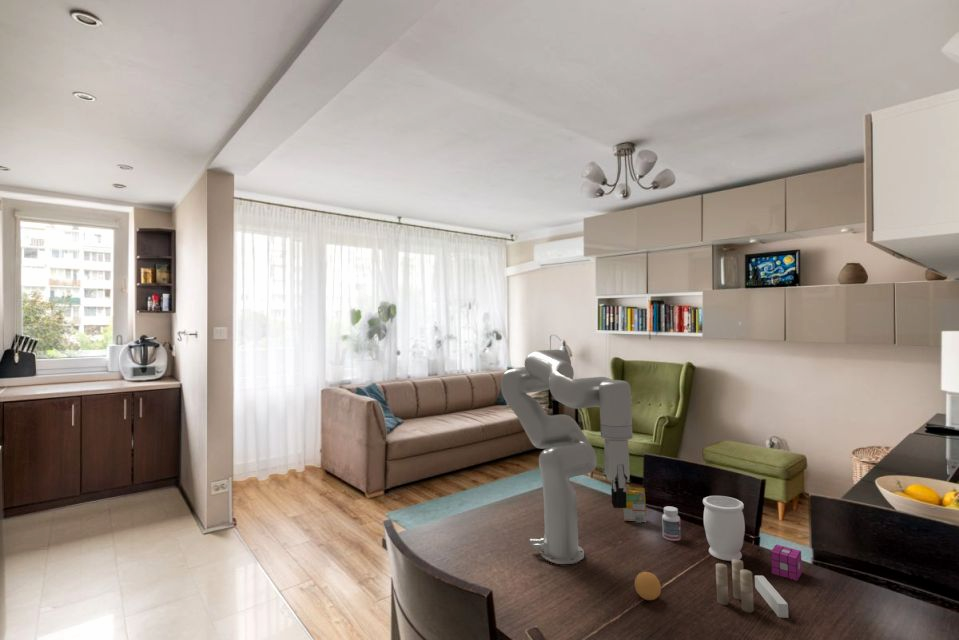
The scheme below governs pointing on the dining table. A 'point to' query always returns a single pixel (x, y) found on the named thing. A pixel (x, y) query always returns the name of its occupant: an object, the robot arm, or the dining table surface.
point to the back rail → (771, 596)
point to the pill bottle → (671, 524)
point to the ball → (647, 585)
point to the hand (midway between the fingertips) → (619, 505)
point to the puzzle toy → (786, 562)
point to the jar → (724, 526)
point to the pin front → (722, 584)
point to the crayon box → (635, 505)
